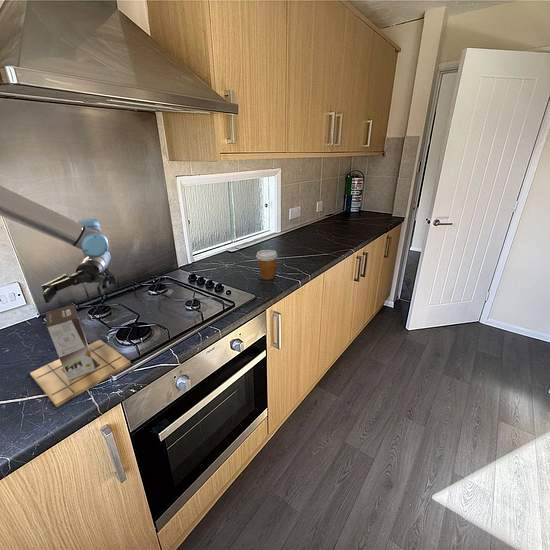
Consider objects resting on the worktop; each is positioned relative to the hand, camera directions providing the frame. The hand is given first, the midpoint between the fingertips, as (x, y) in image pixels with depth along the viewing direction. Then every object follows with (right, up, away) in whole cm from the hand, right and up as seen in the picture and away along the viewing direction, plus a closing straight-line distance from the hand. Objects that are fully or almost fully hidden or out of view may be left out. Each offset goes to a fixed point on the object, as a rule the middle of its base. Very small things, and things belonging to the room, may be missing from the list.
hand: (73, 295), depth 85 cm
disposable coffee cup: (+55, +4, +49) cm, 74 cm away
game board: (+6, -20, -5) cm, 22 cm away
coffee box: (+6, -19, -6) cm, 21 cm away
